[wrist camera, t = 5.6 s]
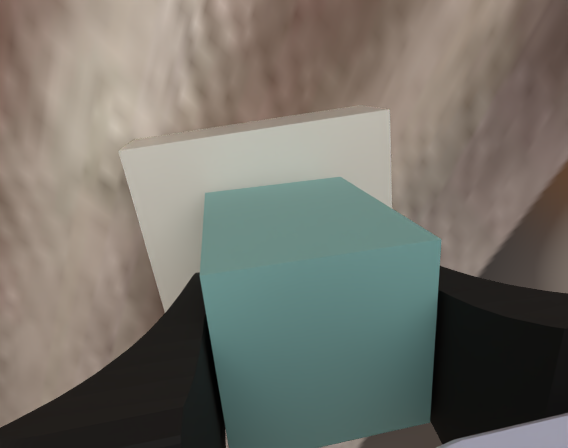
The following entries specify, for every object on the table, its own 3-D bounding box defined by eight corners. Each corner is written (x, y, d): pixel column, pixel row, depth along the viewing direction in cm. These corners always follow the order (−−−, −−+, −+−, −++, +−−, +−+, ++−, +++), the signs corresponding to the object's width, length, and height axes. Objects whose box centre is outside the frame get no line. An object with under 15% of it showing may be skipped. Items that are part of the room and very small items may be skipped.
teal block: (340, 176, 13) (441, 238, 7) (343, 294, 14) (429, 422, 9) (204, 192, 12) (199, 275, 7) (223, 314, 14) (231, 466, 8)
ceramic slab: (358, 104, 16) (389, 109, 13) (367, 290, 19) (394, 326, 16) (135, 138, 15) (118, 150, 12) (186, 329, 18) (182, 374, 15)
